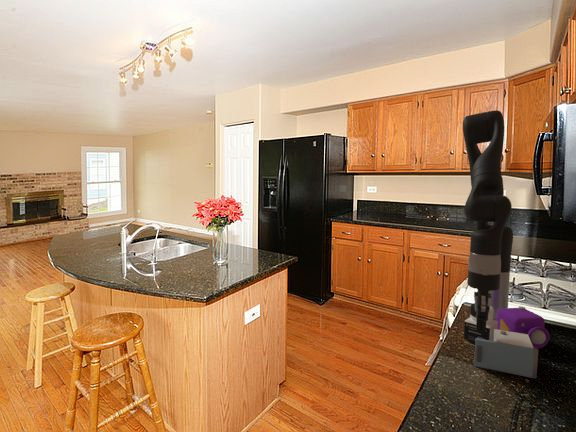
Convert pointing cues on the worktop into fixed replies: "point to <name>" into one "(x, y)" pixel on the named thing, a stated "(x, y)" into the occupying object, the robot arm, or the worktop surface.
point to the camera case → (512, 338)
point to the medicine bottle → (471, 327)
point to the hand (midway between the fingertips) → (480, 332)
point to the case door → (506, 357)
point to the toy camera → (523, 324)
